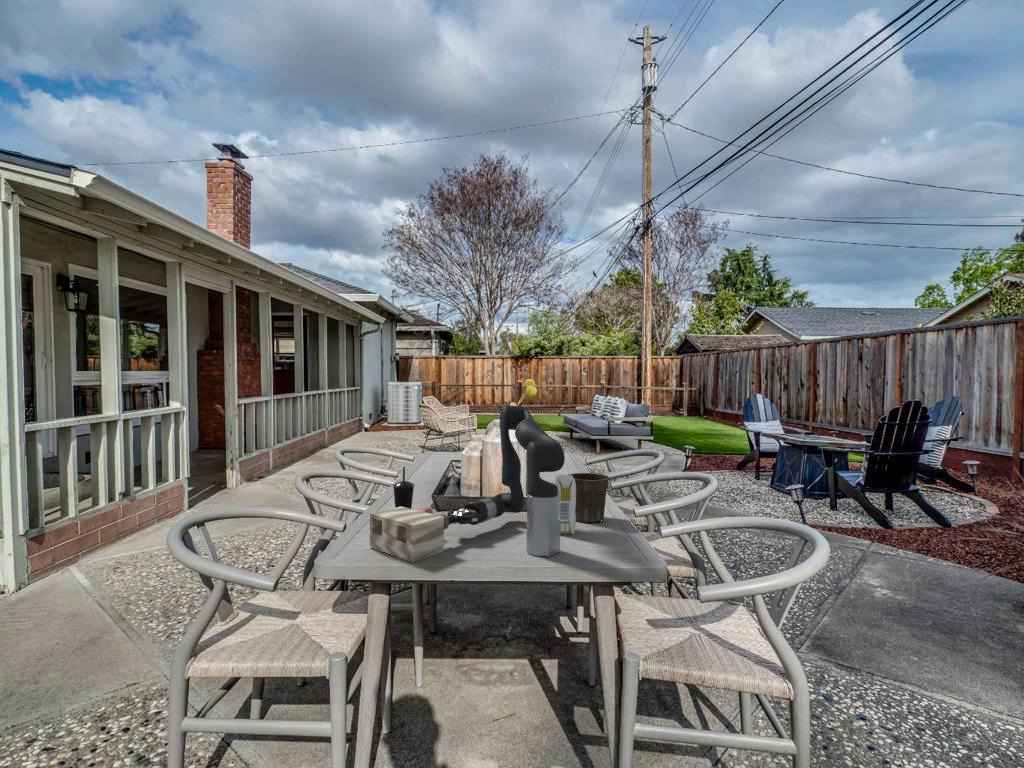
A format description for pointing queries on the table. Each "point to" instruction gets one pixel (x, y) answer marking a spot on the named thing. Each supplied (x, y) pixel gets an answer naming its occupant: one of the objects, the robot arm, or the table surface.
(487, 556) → the table surface
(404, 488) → the drinking cup
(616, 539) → the table surface
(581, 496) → the plant pot
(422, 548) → the socket block
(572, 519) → the juice carton
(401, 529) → the walnut plug
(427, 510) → the terracotta plug
